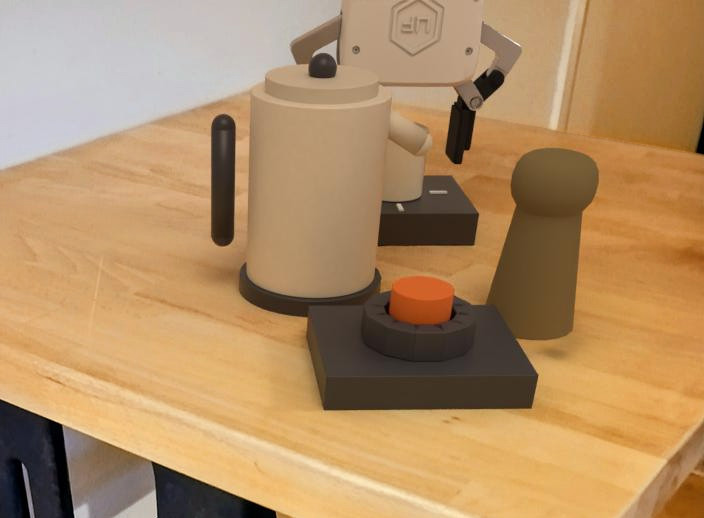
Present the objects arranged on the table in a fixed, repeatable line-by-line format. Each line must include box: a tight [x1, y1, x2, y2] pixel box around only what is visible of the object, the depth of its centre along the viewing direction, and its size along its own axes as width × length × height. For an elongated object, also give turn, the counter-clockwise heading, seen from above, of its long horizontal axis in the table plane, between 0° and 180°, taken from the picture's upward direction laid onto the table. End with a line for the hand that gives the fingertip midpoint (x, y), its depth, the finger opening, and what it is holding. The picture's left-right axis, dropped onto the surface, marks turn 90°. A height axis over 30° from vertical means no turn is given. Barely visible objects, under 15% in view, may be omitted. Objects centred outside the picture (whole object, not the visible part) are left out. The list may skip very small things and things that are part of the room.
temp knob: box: [382, 121, 430, 202], centre depth 81 cm, size 5×5×5 cm
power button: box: [389, 275, 455, 324], centre depth 60 cm, size 4×4×2 cm
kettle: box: [210, 52, 434, 318], centre depth 68 cm, size 14×10×15 cm
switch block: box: [305, 289, 540, 412], centre depth 61 cm, size 12×10×4 cm
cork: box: [484, 147, 600, 341], centre depth 65 cm, size 6×6×11 cm
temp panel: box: [377, 174, 480, 246], centre depth 83 cm, size 12×10×3 cm
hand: (393, 159), depth 81 cm, fingers open, 9 cm apart
